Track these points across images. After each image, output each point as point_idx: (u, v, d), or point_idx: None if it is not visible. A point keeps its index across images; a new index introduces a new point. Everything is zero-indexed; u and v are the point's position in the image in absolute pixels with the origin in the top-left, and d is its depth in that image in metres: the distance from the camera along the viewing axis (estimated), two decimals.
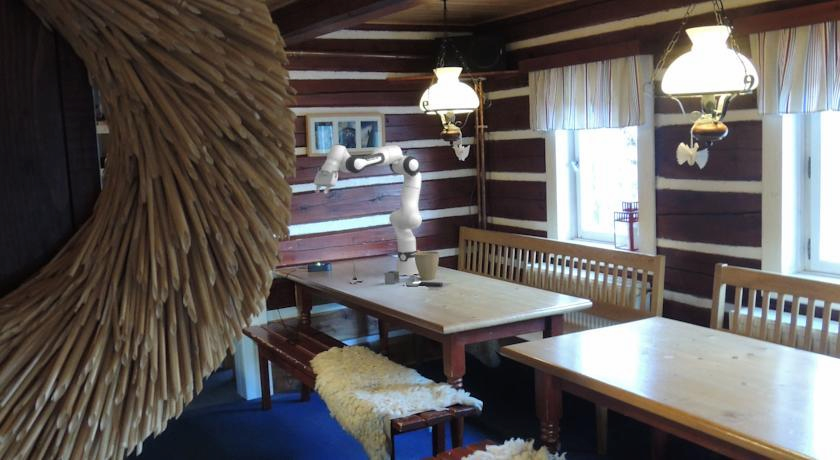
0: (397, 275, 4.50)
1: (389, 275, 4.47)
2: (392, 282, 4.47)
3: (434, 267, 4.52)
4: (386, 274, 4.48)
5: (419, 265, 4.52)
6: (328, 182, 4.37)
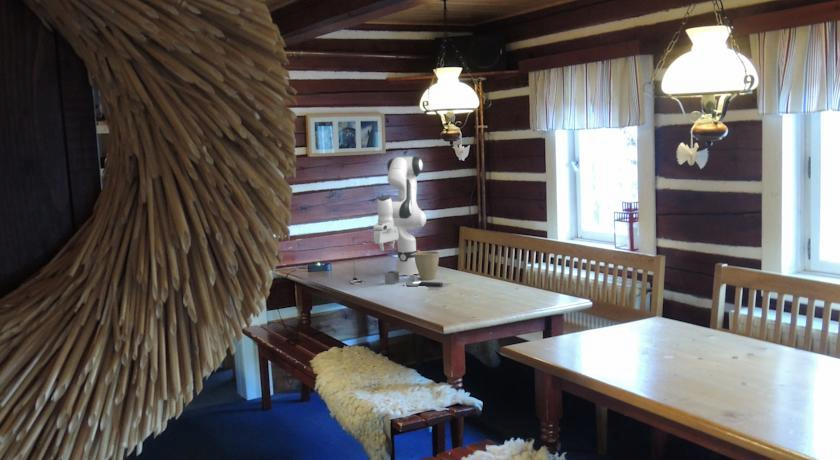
0: (397, 275, 4.50)
1: (389, 275, 4.47)
2: (392, 282, 4.47)
3: (434, 267, 4.52)
4: (386, 274, 4.48)
5: (419, 265, 4.52)
6: (396, 238, 4.52)
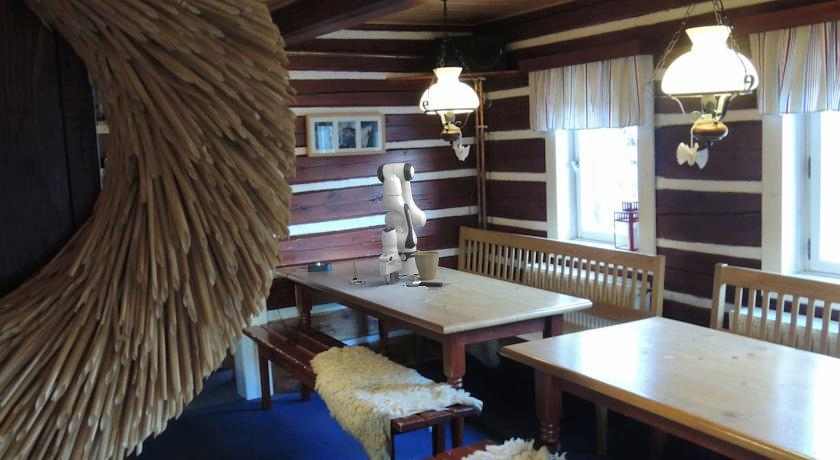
0: (397, 275, 4.50)
1: None
2: (392, 282, 4.47)
3: (434, 267, 4.52)
4: None
5: (419, 265, 4.52)
6: (400, 267, 4.55)
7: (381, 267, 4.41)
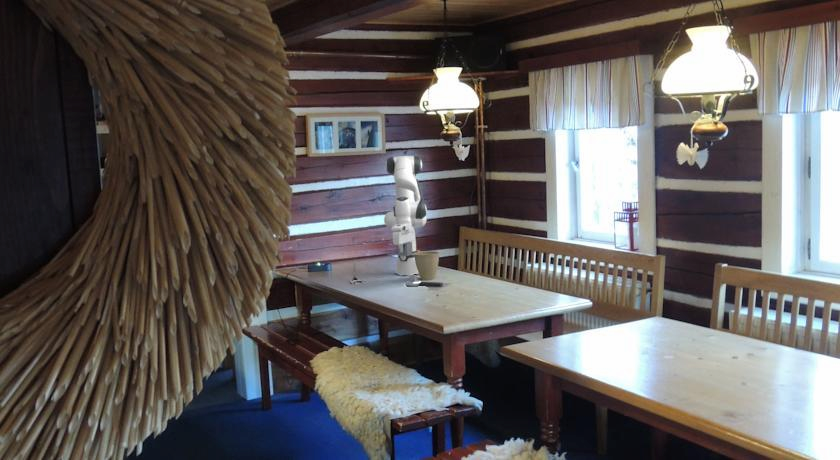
0: (410, 246, 4.39)
1: None
2: (405, 253, 4.36)
3: (434, 267, 4.52)
4: None
5: (419, 265, 4.52)
6: (413, 239, 4.45)
7: (394, 237, 4.31)
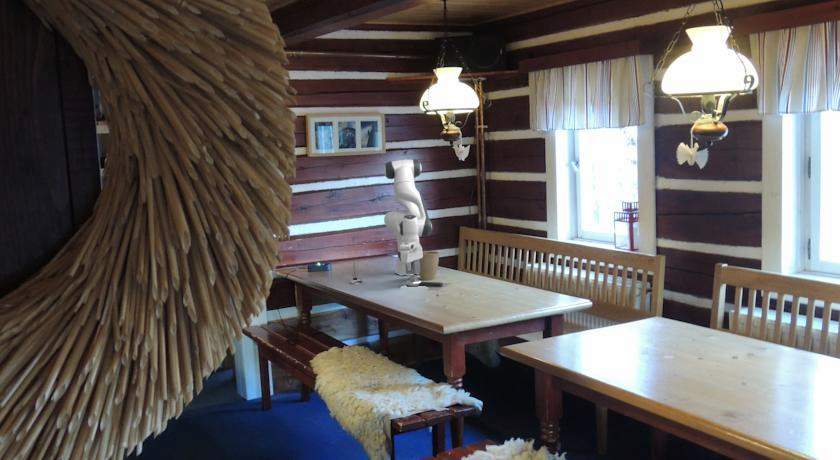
0: (418, 264, 4.38)
1: (410, 264, 4.35)
2: (413, 271, 4.35)
3: (434, 267, 4.52)
4: None
5: None
6: (421, 256, 4.44)
7: (402, 255, 4.29)
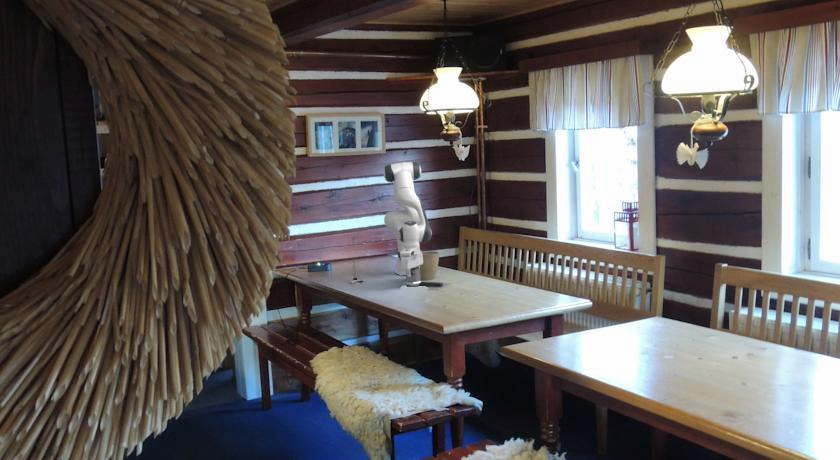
0: (419, 272, 4.39)
1: (410, 272, 4.36)
2: (414, 279, 4.36)
3: (434, 267, 4.52)
4: None
5: None
6: (421, 262, 4.44)
7: (403, 262, 4.29)
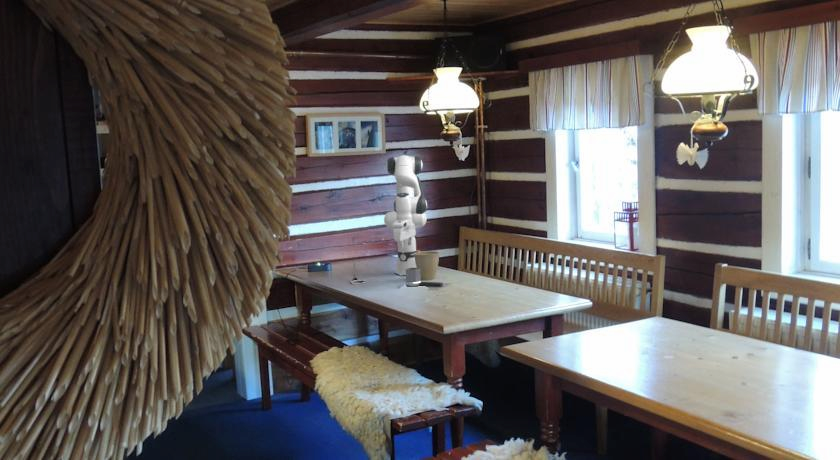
0: (419, 272, 4.39)
1: (410, 272, 4.36)
2: (414, 279, 4.36)
3: (434, 267, 4.52)
4: (407, 271, 4.37)
5: (419, 265, 4.52)
6: (414, 234, 4.47)
7: (395, 233, 4.32)
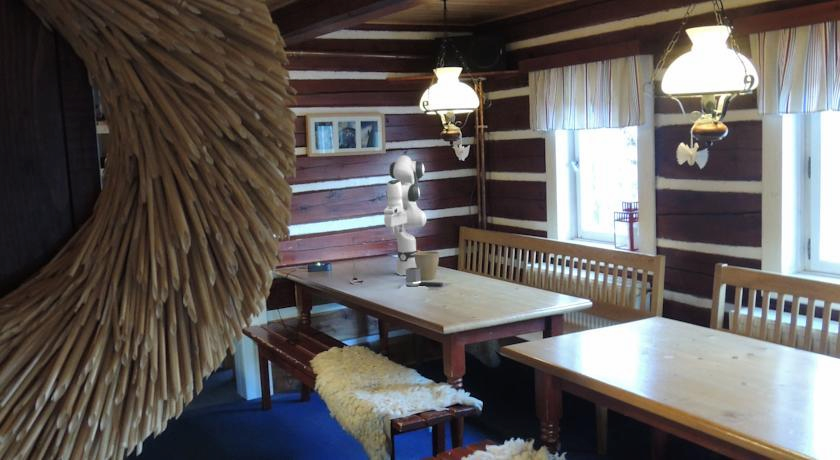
0: (419, 272, 4.39)
1: (410, 272, 4.36)
2: (414, 279, 4.36)
3: (434, 267, 4.52)
4: (407, 271, 4.37)
5: (419, 265, 4.52)
6: (405, 221, 4.52)
7: (386, 219, 4.37)
